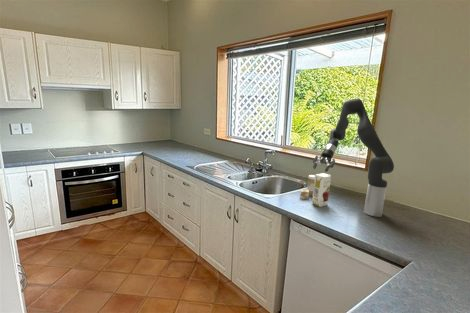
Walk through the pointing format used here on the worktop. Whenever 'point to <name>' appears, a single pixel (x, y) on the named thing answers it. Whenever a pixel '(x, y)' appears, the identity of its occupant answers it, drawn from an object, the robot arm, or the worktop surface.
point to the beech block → (304, 194)
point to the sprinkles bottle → (311, 184)
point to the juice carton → (321, 189)
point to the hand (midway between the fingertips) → (319, 169)
